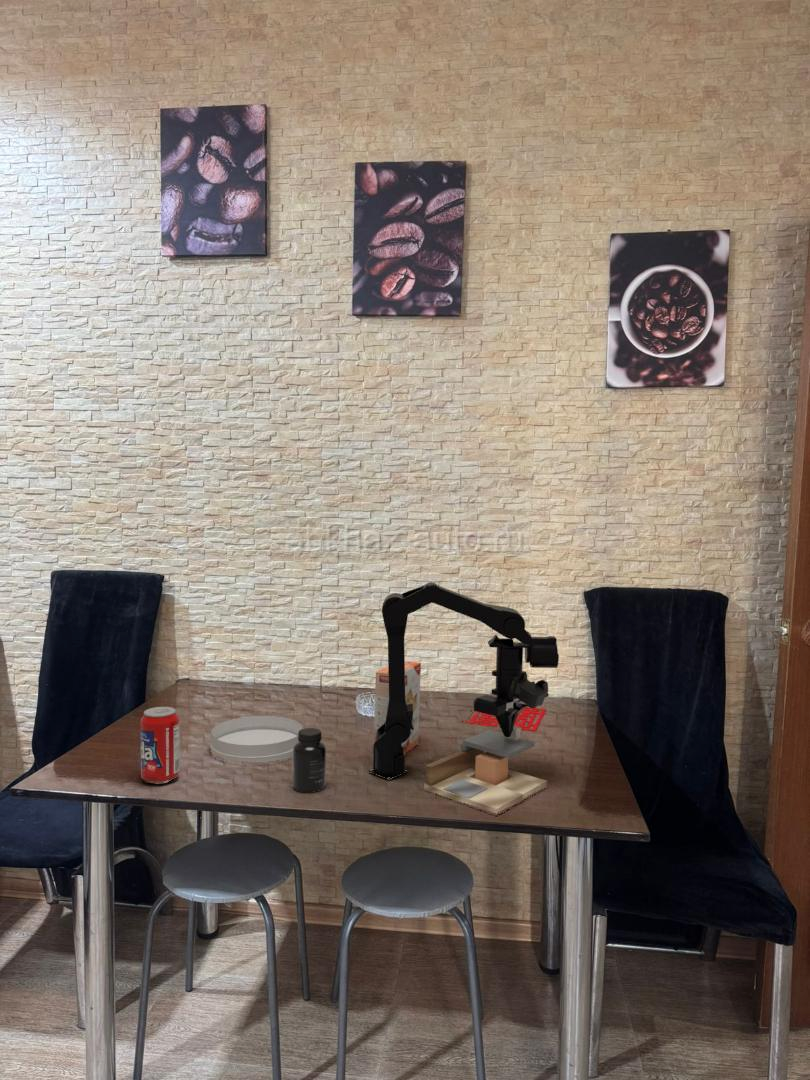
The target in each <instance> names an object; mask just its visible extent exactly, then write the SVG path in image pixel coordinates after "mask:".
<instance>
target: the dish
mask: <svg viewBox="0 0 810 1080" xmlns="http://www.w3.org/2000/svg"><path fill="white" fill-rule="evenodd" d="M301 729H304V725H303V724H301V723H300V721H297V720H295V719H292V718H288V717H285V716H275V715H251V716H243V717H237V718H232V719H229V720H225V721H223V722H221V723H218V724H216V725H215V726H214V727H212V729H211V731H210V735H211V736H210V737H211V738H210V739H211V740H210V745H209V747H210V748H211V750H212V752H213V753H215V754H217V755H218V756H221V757H223V758H227V759H230V760H237V761H248V762H268V761H276V760H281V759H285V758H288V757H291V756H293V748H294V746H295V745H296V744H297V743H298V742H299V741H298V732H299V731H300V730H301Z"/></svg>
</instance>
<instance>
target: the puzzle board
mask: <svg viewBox="0 0 810 1080" xmlns="http://www.w3.org/2000/svg"><path fill="white" fill-rule="evenodd" d="M482 753H485V751H482V750H479V749H475V748H471V749H469V750H466V751H464V750H461V749H460V750H459V751H456V752H454V753H452V754H449V755H447V756H445V757H444V756H443V758H440V759H438V760H435V761H433V762H431V763H429V764H427V765H425V782H424V784H423V785H424V788H423V789H426V790H429V791H431V792H434V793H437V794H439V795H442V796H445V797H448V798H450V799H453V800H456V801H459V802H462V803H466V804H469V805H473V806H476V807H479V808H482V809H485V810H487V811H490V812H493V813H496V814H497V813H498V812H500V811H502V810H504V809H505V808H507V807H509V806H511V805H513V804H514V803H516V802H518V801H519V800H521V799H523V798H525V797H527V796H528V795H530V794H532V793H533V792H535V791H537V790H539V789H540V788H542V787H544V786H546V785H548V783H547V782H548V781H547V780H545V779H541V778H539V777H535V776H532V775H529V774H526V773H522V772H519V771H516V770H512V769H510V768H508V780H506V781H504V782H502V783H500V784H498V785H493V784H490V783H487V782H484V781H481V780H478V779H475V765H476V756H478V755H480V754H482Z"/></svg>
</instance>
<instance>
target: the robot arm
mask: <svg viewBox="0 0 810 1080" xmlns="http://www.w3.org/2000/svg"><path fill="white" fill-rule="evenodd" d="M430 604H435V605H437V606H440V607H442V608H445V609H449V610H450V611H453V612H456V613H458V614H460V615H464V616H466V617H468V618H471V619H474V620H477V621H479V622H481V623H482V624H485V625H486V626H487V627H489V628H490V629H491V630H492V631H494V632H496V633H497V634H499V635H501V636H502V637H505V638H501V637H499V636H498V635H497V634H494V635H493V637H492V638H491V639H490V640H488V641H487V644H488V646H489V648H496V657H495V658H496V659H495V660H496V661H495V669H494V670H492V671H491V676H492V677H495V687H494V688H492V689H491V695H489V694H484V695H482V696H478V697H476V699H474V700H473V701H472V702H473V704H472V705H473V707H472V708H473V710H474V712H481V713H480V714H489V715H493V716H492V717H496V719H497V721H498V725H499V728H500V729H501V733H503V734H504V736H505V737H510V736H511V733H512V730H513V727H514V724H515V723H517V722H516V719H517V716H518V714H519V715H520V713H521V712H520V711H522V710H523V709H524V708H526V707H528V708H537V707H539V706H543V703H544V701H545V698H548V697H549V683H548V681H545V680H544V679H540V680H538V681H537V682H536V681H530V680H529V679H528V674H527V671H525V670H523V665H524V664H523V658H524V662H525V663H526V664H528V663H529V666H530V668H533V669H534V668H540V669H542V668H543V669H544V668H545V669H547V668H548V669H557V668H558V666H559V661H560V659H559V658H560V657H559V656H560V654H559V652H558V644H557V641H558V640H557V638H556V637H555V636H554V635H551V636H550V635H548V636H532V634H531V633H530V632H529V630H526V621H525V618H524V617H523V616H522V615H521V613H520V612H519V611H518V610H516V609H514V608H511V607H507V606H503V605H494V604H488V603H484V602H481V601H479V600H477V599H474V598H472V597H468V596H466V595H463V594H460V593H459V592H456V591H453V590H451V589H448V588H446V587H443V586H441V585H439V584H437V583H435V582H432V581H430V582H427V583H425V584H424V585H421V586H419V587H416V588H413V589H410V590H408V591H406V592H403V593H398V592H394V593H390V594H389V595H387V596H386V597H385V598H384V600H383V602H382V607H381V615H382V620H383V624H384V625H383V626H384V630H385V633H386V637H387V659H388V661H387V664H388V672H389V702H388V709H387V715H386V721H385V723H384V724H383V725H382V726H381V727H380V728H379V729H377V731H376V737H375V743H374V742H373V745H372V746H373V752H372V754H373V756H372V757H373V758H372V769H374V770H372V771H370V769H369V770H367V772H368V771H369V772H372V773H374V774H377V775H380V776H382V777H385V778H388V777H390V778H392V777H395V776H398V775H400V774H403V773H404V772H407V771H408V772H409V769H407V768H405V764H406V763H405V759H406V756H405V755H406V754H405V755H404V747H403V746H401V745H402V743H403V742H405V741H406V740H407V739H408V738H409V737H410V733H411V729H412V730H414V719H413V704H407V700H406V696H405V661H406V659H405V658H406V657H405V656H406V655H405V652H406V651H405V649H406V648H405V634H406V629H407V623H408V616H409V615H410V614H412V613H414V612H416V611H419V610H421V609H422V608H424V607H426V606H428V605H430ZM514 639H516V640H517V641H519V642H517V641H516V642H515V641H514ZM405 770H407V771H405ZM408 772H407V773H408ZM403 775H404V774H403ZM400 776H401V775H400ZM398 777H399V776H398ZM390 778H389V779H390Z"/></svg>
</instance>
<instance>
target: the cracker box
mask: <svg viewBox="0 0 810 1080" xmlns="http://www.w3.org/2000/svg"><path fill="white" fill-rule="evenodd" d="M421 668H422V663H421V662H418V661H410V660H405V696H406V700H407V704H413V719H414V730H412V729H411V733H410V737H409V738H408V739H407V740H406V741H405V742H403V743H402V745H401V746H403V747H404V754H405V753H406V752H408V751H409V750H411V749H412V748H413V747H415V746H416V745H417V744H418V745H419V729H420V725H419V724H420V703H421V702H420V700H421V698H420V697H421V675H422V674H421V671H422V669H421ZM374 685H375V690H374V720H373V721H374V722H373V723H374V725H373V744H374V743H375V737H376V731H377V729H379V728H380V727H381V726H382V725H383V724H384V723H385V721H386V715H387V709H388V702H389V672H388V666H385V667H383V668H381V669H378V670H377V671H375V684H374ZM416 747H417V746H416ZM416 747H415V748H416ZM413 749H414V748H413ZM413 749H412V750H413ZM412 750H411V751H412ZM409 752H410V751H409ZM409 752H408V753H409ZM405 755H406V754H405Z"/></svg>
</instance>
